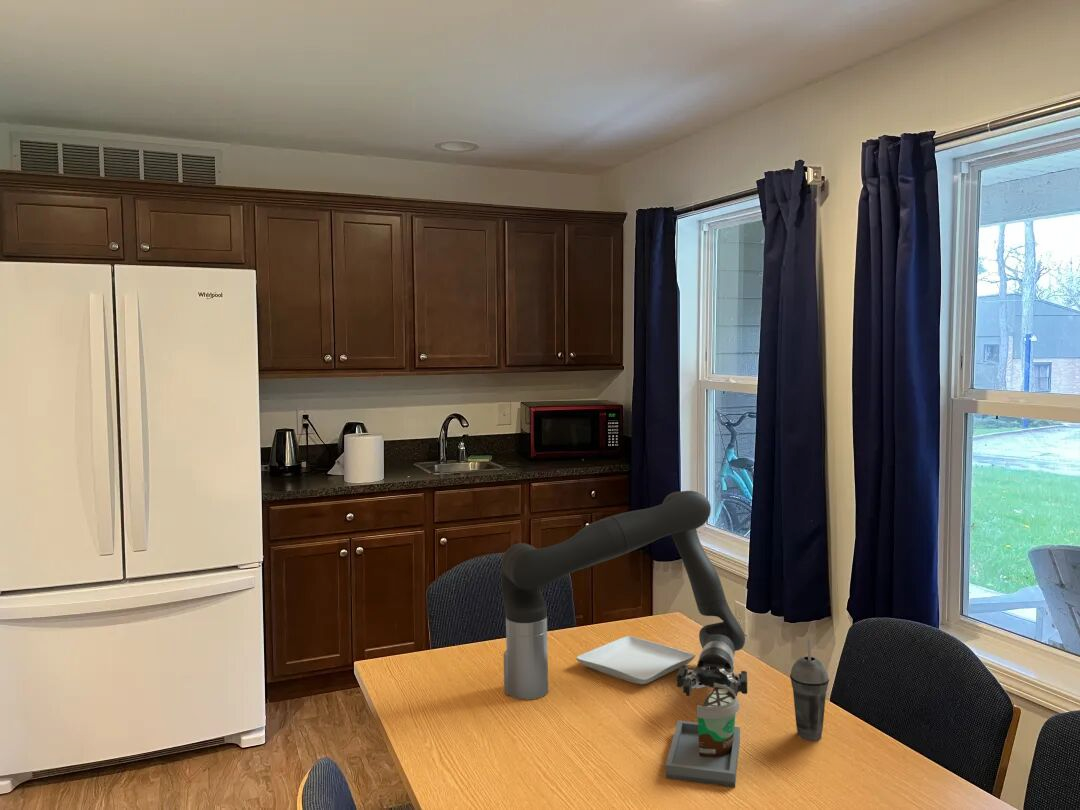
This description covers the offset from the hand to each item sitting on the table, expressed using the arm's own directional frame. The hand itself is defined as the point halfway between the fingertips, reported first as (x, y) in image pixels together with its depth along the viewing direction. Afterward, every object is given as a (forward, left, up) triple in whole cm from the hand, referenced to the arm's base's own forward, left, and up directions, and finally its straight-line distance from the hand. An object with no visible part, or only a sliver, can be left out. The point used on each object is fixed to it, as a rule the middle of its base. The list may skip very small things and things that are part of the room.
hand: (709, 693), depth 158 cm
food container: (+3, -8, -7) cm, 11 cm away
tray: (0, -11, -7) cm, 14 cm away
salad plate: (-20, +29, -8) cm, 36 cm away
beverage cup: (+19, +3, -8) cm, 21 cm away
